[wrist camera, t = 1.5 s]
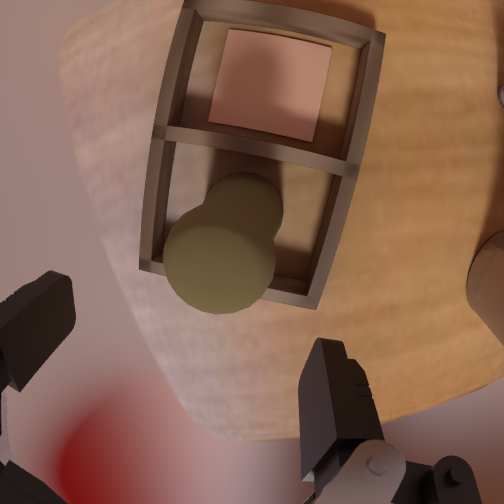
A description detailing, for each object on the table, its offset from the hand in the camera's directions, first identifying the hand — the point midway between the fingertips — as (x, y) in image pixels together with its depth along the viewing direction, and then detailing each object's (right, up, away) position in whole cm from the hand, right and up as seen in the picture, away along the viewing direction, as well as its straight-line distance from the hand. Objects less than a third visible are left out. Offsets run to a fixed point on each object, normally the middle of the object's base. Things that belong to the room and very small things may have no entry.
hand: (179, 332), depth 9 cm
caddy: (+2, +10, +12) cm, 16 cm away
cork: (+2, +6, +14) cm, 15 cm away
